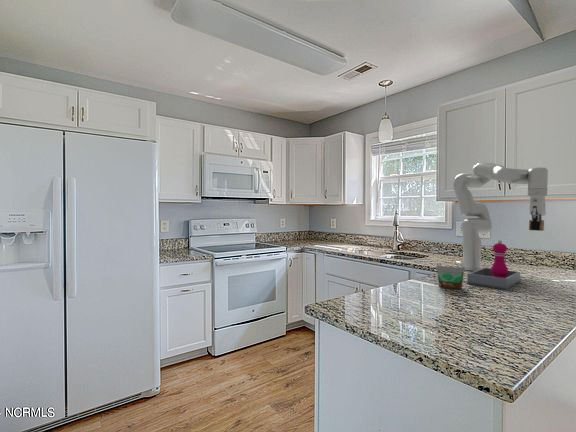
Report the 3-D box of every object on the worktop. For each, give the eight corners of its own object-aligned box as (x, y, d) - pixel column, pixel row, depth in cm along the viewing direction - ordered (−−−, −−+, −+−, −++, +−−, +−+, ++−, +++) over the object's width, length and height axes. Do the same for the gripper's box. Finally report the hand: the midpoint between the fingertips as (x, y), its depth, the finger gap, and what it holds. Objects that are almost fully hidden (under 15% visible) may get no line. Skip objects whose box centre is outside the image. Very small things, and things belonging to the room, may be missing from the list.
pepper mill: (507, 281, 151) (508, 241, 150) (490, 279, 155) (491, 240, 155) (508, 279, 157) (508, 240, 156) (491, 277, 161) (491, 239, 161)
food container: (434, 288, 140) (435, 266, 140) (435, 285, 146) (435, 264, 146) (465, 291, 134) (466, 268, 134) (465, 288, 140) (465, 266, 140)
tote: (467, 283, 150) (467, 273, 150) (483, 276, 167) (484, 267, 167) (506, 290, 138) (506, 279, 138) (520, 281, 155) (520, 272, 155)
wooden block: (529, 230, 152) (529, 220, 152) (531, 229, 155) (531, 220, 155) (542, 230, 148) (542, 220, 148) (543, 230, 151) (544, 220, 151)
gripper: (544, 191, 143) (543, 230, 143) (550, 193, 154) (549, 229, 155) (524, 192, 148) (523, 229, 149) (531, 193, 160) (530, 228, 160)
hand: (536, 229), depth 152 cm, fingers closed on wooden block, 5 cm apart
